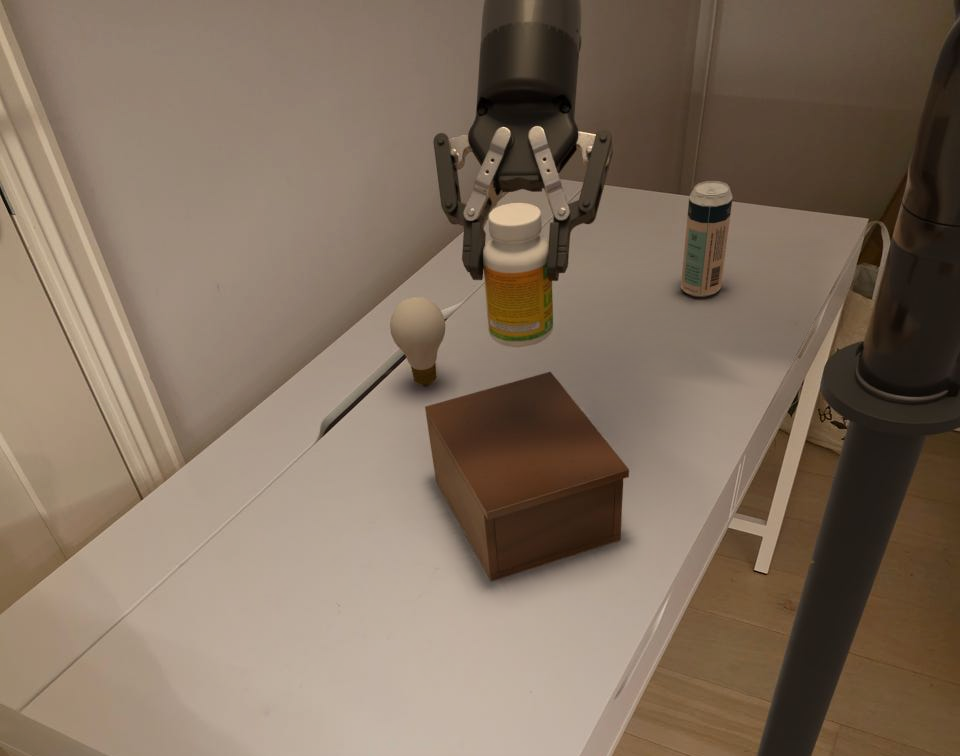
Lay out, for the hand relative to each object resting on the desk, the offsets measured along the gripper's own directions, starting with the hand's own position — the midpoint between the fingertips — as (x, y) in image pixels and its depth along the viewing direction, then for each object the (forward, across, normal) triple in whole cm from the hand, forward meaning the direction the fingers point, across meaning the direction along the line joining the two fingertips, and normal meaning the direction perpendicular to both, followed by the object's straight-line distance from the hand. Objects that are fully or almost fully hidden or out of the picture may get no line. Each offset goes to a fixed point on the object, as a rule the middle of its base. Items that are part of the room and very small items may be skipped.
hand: (514, 276), depth 68 cm
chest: (+17, 0, +14) cm, 22 cm away
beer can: (-13, +16, +45) cm, 49 cm away
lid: (+11, 0, +9) cm, 14 cm away
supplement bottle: (+3, 0, +6) cm, 6 cm away
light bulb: (+3, -14, +29) cm, 32 cm away
